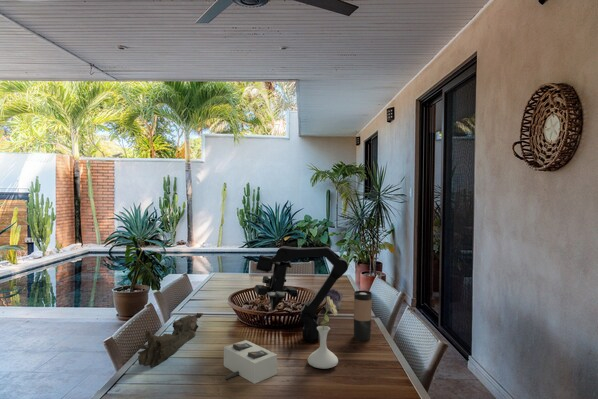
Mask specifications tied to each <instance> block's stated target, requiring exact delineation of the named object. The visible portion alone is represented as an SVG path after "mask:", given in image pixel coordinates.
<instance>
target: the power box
mask: <svg viewBox="0 0 598 399" xmlns="http://www.w3.org/2000/svg"><path fill="white" fill-rule="evenodd" d="M233 344H247V345H249V346H251V347H250V348H247V349H244V350H238V349H236V348H234V347H233ZM256 351H262V352H264V353H266V354H268V355H265V356H262V357H260V358H252V357H250V356H248V352H256ZM223 367H225V368H227V369H228V370H230V371H232V373H229V374H226V375H225V379H226V380H228V379H229V380H230V379H231V378H233V377H236V376H238V375H239V376H240V377H242V378H244V379H245V380H246V381H248V382H250V383H252V384H257V383H259V382H262V381H264V380H266V379H269V378H271V377H274V376H276V375H277V373H278V371H277V370H278V354H277V353H275V352H273V351H270V350H268V349H266V348H264V347H262V346H259V345H257V344H256V343H253V342H251V341H249V340H247V339H245V340H242V341H238V342H234V343H232V344H229V345H226V346H224V347H223Z"/></svg>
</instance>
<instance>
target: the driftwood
mask: <svg viewBox="0 0 598 399" xmlns="http://www.w3.org/2000/svg"><path fill="white" fill-rule="evenodd" d="M202 316H204V313H202V312H197V313H196V314H193V315H191V314H187V315H186V316H183V317H180V318H179V319H177V320H174V321H173V322H172V329H173V331H172V333H163V334H162V335H160V336H158V335H155V334H152V332H150V331H149V330H145V333H144V334H145V335H144V338H145V340H146V342H147V344H139V345H138V346H137V349H139V350H140V349H141V351H137V354H138V355H137V357H138V364H139V365H140V366H144V367H148V366H150V368H153V367H154V366H158V365H160V364H161V363H163V362H164V361H166V360H168V359H169V358H170V356H173V355H174V354H176V353H177V352H178V351H179V349H181V347H183V346H184V345H185V344H186V343H187V342H188V341H189V340H192V339H194V338H195V337H196V332H197V330H198V328H199V324H197V322H198V319H200V318H201V317H202Z"/></svg>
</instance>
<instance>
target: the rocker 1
mask: <svg viewBox="0 0 598 399" xmlns="http://www.w3.org/2000/svg"><path fill="white" fill-rule="evenodd" d="M232 344H233V347H234V348H236V349H238V350H244V349H247V348H250V347H251V346H249V345H247V344H235V343H232Z"/></svg>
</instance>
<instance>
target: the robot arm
mask: <svg viewBox="0 0 598 399" xmlns="http://www.w3.org/2000/svg"><path fill="white" fill-rule="evenodd" d="M319 257H321V258H322V257H324V258H325V259H327V261H328V262H329V263H330V264H331V265H332V266H331V267H332V268H331V270H330V272H329V273H328V276H327V277H326V279H325V280H324V282H323V283H322V285H321V286H320V288H319V289H318V291H317V292H316V293H315V295H314V296H313V298H312V299H311V300H310V301H307V300H305V303H304V305H303V306H301V309H300V315H299V320H300V321H301V323H303V328H302V339H303V343H320V334H319V331H318V330H317V327H318V326H320V323H319V319H320V318H319V316H318V315H317V312H318V310H319V307H320V306H321V305H322V303H323V300H324V298H325V297H326V295H327V294H328V292H329V291H330V290H331V289H333V286H334V285H335V283H336V282H337V281H338V280H339V279H340V278H342V276H343V275H344V274H346V272H347V271H348V269H349V263H348V260H347V259H346V258H345V257H342V256H340V255H338V254H337V253H336V252H335V251H333V250H332V249H331V248H330V247H329V246H322V247H320V246H319V247H318V246H317V247H299V248H298V247H293V246H288V245H282V246H280V247H279V248H278V249H277V251H276V254H275V255H273V256H272V257H270V256H265V255H263V254H260V255H259V258H258V260H257V262H256V267H255V269H256V271H258V272H262V273H267V274H269V273H270V272H272V275H271V276H270V278H269V276H267V275H264V276H263V277H262V280H261V281H262V284H263V285H262V284H255V286H254V287H253V291H254V293H255V294H256V295H258V296H268V297H269V300H270V301H269V302H270V310H272V311H275V309H276V308H277V306H278V305H279V304H280V302H282V300H284V299H286V296H285V294H289V295H290V297H293V298H297V297H298V294H299V291H298V290H297V289H296V288H295V287H294V286H285V283H287V279H286V277H287V272H288V268H289V269H291V268H292V267H293V264H292V262H291V260H294V259H298V258H319ZM264 284H265V285H264ZM284 287H285V288H284Z"/></svg>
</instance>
